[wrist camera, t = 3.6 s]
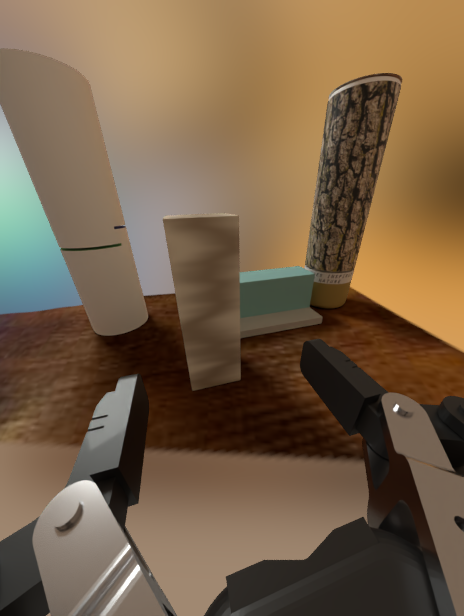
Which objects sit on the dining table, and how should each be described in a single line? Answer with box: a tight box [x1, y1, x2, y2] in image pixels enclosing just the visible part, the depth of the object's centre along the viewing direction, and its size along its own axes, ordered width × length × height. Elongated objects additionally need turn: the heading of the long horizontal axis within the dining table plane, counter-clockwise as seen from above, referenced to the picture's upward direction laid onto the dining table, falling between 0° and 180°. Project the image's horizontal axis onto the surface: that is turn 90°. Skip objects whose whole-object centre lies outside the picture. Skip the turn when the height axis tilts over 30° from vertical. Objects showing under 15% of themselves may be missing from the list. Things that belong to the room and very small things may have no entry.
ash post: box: [163, 213, 241, 391], centre depth 17 cm, size 4×4×14 cm
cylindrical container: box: [0, 49, 148, 336], centre depth 23 cm, size 7×7×25 cm
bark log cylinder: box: [305, 73, 402, 308], centre depth 27 cm, size 7×7×25 cm
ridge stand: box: [240, 266, 323, 338], centre depth 28 cm, size 15×10×6 cm, turn 105°
